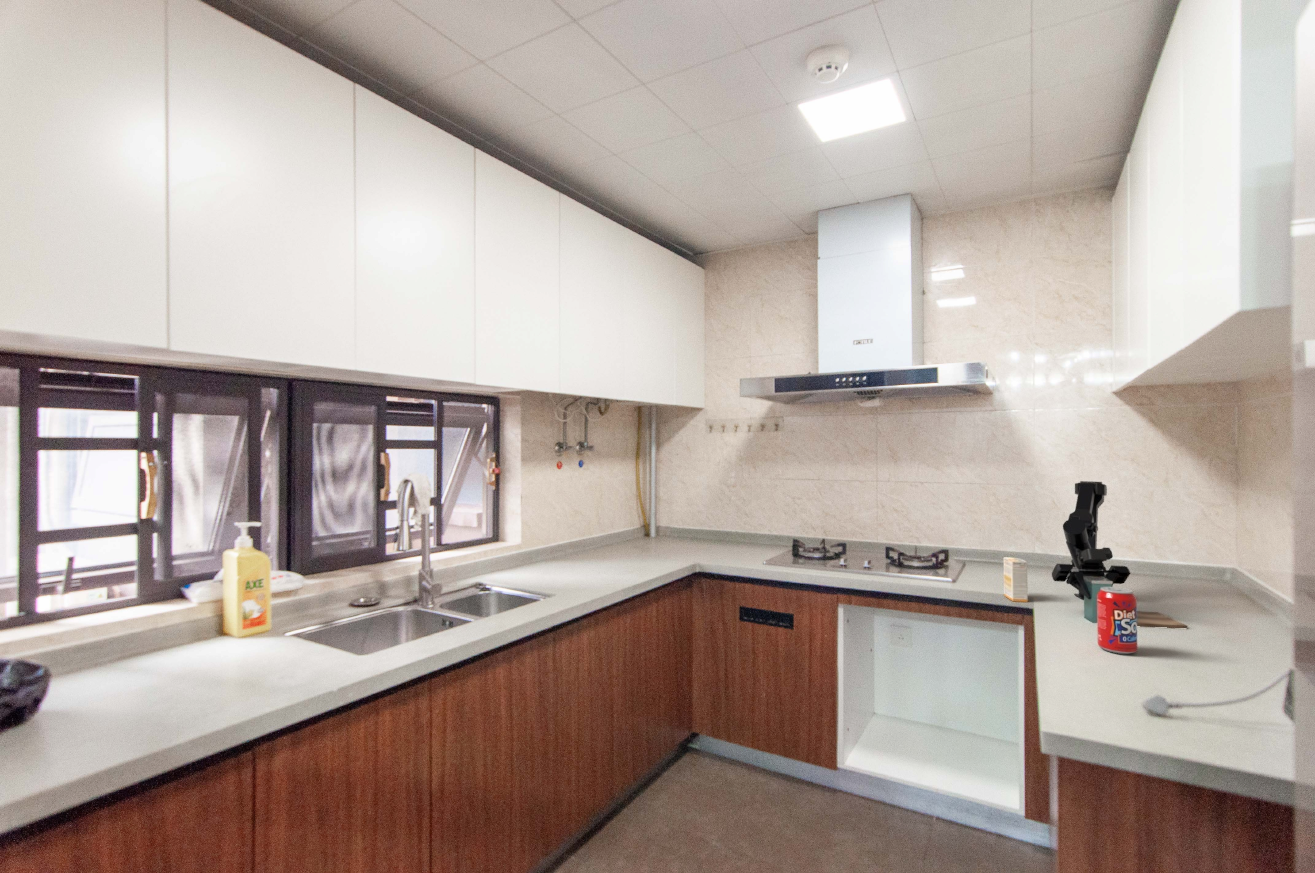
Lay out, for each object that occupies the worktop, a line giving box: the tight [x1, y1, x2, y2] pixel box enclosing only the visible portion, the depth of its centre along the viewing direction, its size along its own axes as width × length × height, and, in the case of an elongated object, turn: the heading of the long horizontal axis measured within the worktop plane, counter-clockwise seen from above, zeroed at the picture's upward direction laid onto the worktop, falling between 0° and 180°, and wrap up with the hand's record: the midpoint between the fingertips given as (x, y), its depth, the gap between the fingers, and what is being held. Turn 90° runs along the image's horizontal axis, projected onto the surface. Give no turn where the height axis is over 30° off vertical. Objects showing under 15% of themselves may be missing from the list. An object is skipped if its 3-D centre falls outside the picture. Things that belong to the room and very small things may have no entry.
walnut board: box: [1137, 610, 1188, 629], centre depth 178 cm, size 14×14×2 cm
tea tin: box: [1083, 577, 1114, 624], centre depth 177 cm, size 5×5×12 cm
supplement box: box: [1003, 556, 1029, 603], centre depth 203 cm, size 8×5×13 cm, turn 168°
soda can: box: [1096, 586, 1138, 655], centre depth 152 cm, size 8×8×15 cm
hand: (1100, 598), depth 176 cm, fingers closed on tea tin, 5 cm apart
